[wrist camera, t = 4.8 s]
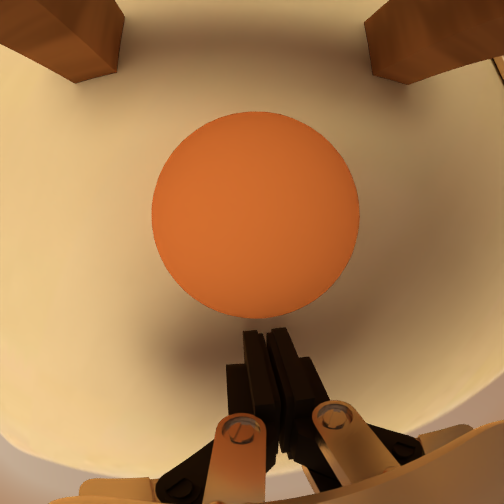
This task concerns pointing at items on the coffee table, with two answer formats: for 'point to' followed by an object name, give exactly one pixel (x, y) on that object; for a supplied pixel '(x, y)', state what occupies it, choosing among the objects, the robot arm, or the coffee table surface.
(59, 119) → the coffee table surface
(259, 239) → the ball
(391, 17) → the bridge
